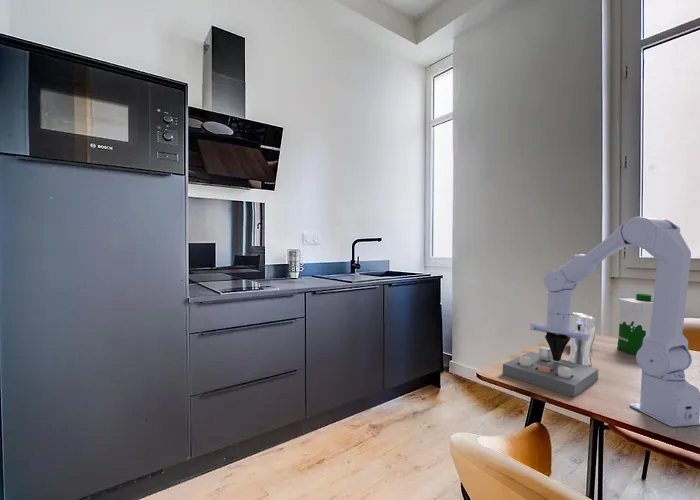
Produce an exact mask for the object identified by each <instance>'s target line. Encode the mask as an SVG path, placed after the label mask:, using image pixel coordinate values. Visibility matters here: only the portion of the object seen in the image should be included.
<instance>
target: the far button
mask: <svg viewBox="0 0 700 500" xmlns="http://www.w3.org/2000/svg"><path fill="white" fill-rule="evenodd" d="M519 357H520V365H522V366H525V367H531V363H532V359H531V358H530V357H526V356H522V355H520V356H519Z"/></svg>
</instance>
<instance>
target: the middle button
mask: <svg viewBox="0 0 700 500" xmlns="http://www.w3.org/2000/svg"><path fill="white" fill-rule="evenodd" d="M538 370H539V371H543V372H546V373H550V370H551V368H550V367H547V366H542V365H540V366H538Z"/></svg>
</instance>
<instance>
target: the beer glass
mask: <svg viewBox="0 0 700 500" xmlns="http://www.w3.org/2000/svg"><path fill="white" fill-rule="evenodd" d="M570 329H573V330H577V331H580V332H584V333H588V341H582V340H579V339H574V338H570V340H569V344H570V345H569V346H570V352H569V353H570V354H569V357H568V361H570V362H573V363H577V364H581V365H585V366H589V367H592V364H593V363H592V362H593V361H592V356H591V355H592V350H593V349H592V348H593V345H594V341H595V337H596V316H594V315H591V314H588V313H581V312H580V313H579V312H572V313H571V316H570Z"/></svg>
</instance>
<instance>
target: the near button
mask: <svg viewBox="0 0 700 500" xmlns="http://www.w3.org/2000/svg"><path fill="white" fill-rule="evenodd" d="M558 376H560V377H563V378H567V379H571V369H570V368H568V367H562V366H560V367H558Z"/></svg>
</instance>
